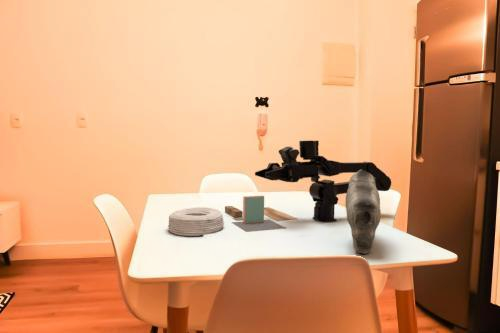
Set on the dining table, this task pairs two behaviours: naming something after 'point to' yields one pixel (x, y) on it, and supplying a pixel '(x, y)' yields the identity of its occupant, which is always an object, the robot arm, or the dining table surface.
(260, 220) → the tile
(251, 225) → the mat
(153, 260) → the dining table surface
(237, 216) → the brown wooden plank
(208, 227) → the cable
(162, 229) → the dining table surface
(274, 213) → the board
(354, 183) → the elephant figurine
